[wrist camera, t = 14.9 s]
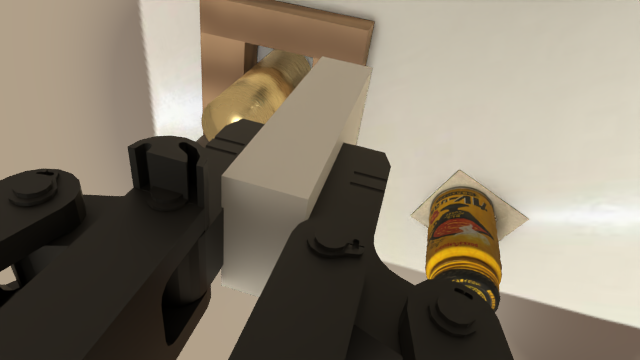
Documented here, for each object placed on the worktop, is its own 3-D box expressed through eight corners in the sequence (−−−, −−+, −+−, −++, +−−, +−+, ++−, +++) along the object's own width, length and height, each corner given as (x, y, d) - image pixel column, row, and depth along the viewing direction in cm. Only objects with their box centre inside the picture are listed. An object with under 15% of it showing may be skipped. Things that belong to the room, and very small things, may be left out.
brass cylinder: (265, 42, 38) (200, 91, 29) (314, 53, 38) (265, 107, 28) (262, 89, 41) (202, 149, 31) (308, 101, 40) (261, 165, 31)
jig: (216, -12, 37) (180, 1, 32) (374, 21, 35) (361, 41, 30) (217, 138, 45) (188, 167, 41) (344, 171, 43) (330, 205, 39)
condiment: (459, 168, 40) (460, 255, 30) (528, 218, 41) (551, 317, 31) (410, 214, 44) (397, 302, 35) (474, 258, 45) (479, 356, 36)
